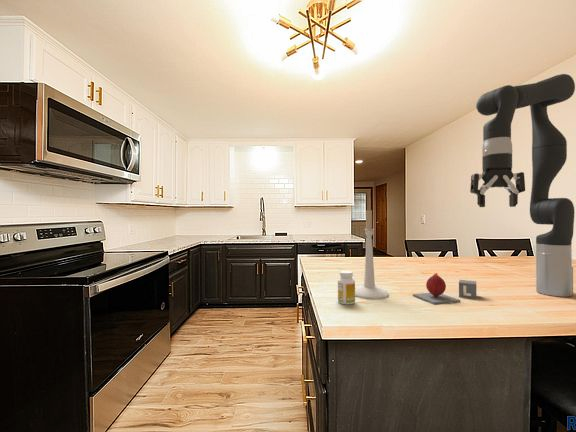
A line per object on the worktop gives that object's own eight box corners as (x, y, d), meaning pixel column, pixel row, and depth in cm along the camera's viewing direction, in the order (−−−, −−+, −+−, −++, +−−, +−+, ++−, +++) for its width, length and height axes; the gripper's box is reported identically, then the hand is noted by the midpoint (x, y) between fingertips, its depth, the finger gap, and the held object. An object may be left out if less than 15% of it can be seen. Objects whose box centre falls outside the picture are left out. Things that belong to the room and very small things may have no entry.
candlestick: (370, 301, 95) (370, 208, 95) (343, 292, 106) (342, 209, 106) (396, 295, 102) (396, 208, 102) (368, 287, 113) (367, 209, 113)
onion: (448, 299, 94) (448, 274, 94) (429, 299, 95) (428, 274, 95) (442, 295, 100) (442, 271, 100) (424, 294, 101) (424, 270, 101)
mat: (437, 293, 104) (437, 292, 104) (460, 301, 94) (460, 300, 94) (412, 295, 101) (412, 294, 101) (433, 304, 92) (433, 302, 92)
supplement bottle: (356, 301, 96) (356, 271, 96) (353, 305, 91) (352, 274, 91) (340, 299, 98) (340, 269, 98) (335, 303, 93) (335, 272, 93)
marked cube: (459, 293, 104) (459, 279, 104) (476, 295, 101) (476, 281, 101) (458, 297, 100) (458, 282, 100) (476, 299, 97) (476, 284, 97)
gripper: (515, 155, 94) (515, 207, 94) (466, 157, 96) (466, 207, 96) (530, 150, 86) (530, 206, 86) (477, 152, 89) (477, 206, 89)
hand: (497, 206), depth 91 cm, fingers open, 8 cm apart
